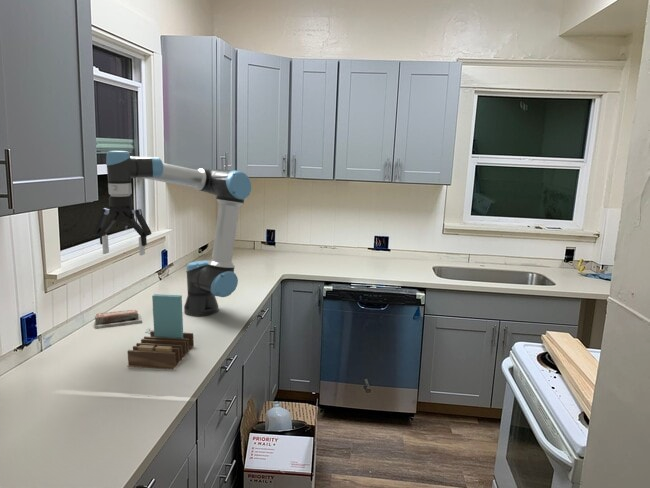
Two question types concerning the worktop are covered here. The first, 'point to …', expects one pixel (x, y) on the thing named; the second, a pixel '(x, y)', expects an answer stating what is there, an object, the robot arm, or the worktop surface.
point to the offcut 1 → (146, 348)
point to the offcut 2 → (163, 349)
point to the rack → (160, 358)
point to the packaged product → (117, 318)
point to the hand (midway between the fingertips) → (124, 254)
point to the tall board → (167, 316)
